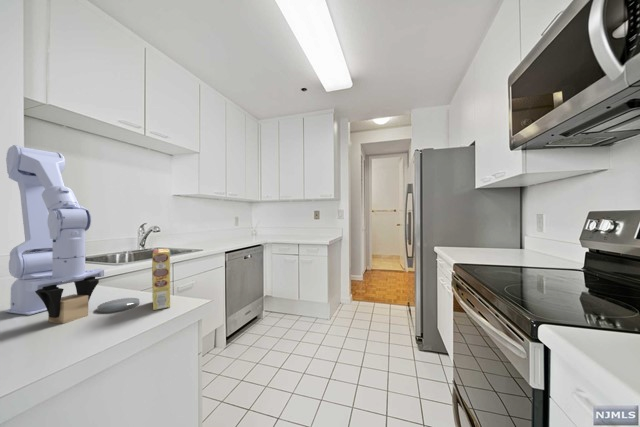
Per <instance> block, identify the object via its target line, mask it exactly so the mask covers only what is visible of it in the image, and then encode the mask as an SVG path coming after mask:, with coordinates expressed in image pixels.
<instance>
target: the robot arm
mask: <svg viewBox="0 0 640 427" xmlns="http://www.w3.org/2000/svg"><path fill="white" fill-rule="evenodd" d="M5 162H6V171H7V175H8V178H9V179H10V180H13V181H14V182H16V183H17V185H18V189H19V195H20V204H21V215H22V222H23V223H22V224H23V234H24V241H23V242H21V243H20V244H17V245H16V246H14V247H13V248H11V250H10V252H9V261H8V271H9V273H10V275H11V277H13V278H14V279H16V280H14V282H13V283H12V284H11V285H10V286H11V287H10V308H8V309H6V310H5V312H4V313H12V314H18V315H29V316H31V315H34V314H37V313H41V312H45V311H47V313H48V314H49V317H51V318H57V317H59V315H60V301H61V297H63V296H62V295H63V292H64V290H65V289H64V288H60V286H61V285H66V284H71V283H74V286H75V290H76V294H77V295H88V303H89V302H90V299H91V296H92V294H93V292H94V290H95V288H96V287H97V286H98V285H99V282H100V279H99V278H103V277H105V268H103V269H102V268H97V269H90V270H89V269H88V270H86V240H87V239H86V235H87V234H86V233H87V231H89V229H90V227H91V225H92V216H91V213H90V210H89V209H88V208H85V207H84V206H83V205H80V204H79V202H78V199H77V197H76V195H75V193H74V191H73V189H71V188H70V187H68V186H65V184H64V180H63V176H62V174H63V172H64V169H65V167H66V159H65V157H64V155H63V154H62V153H61V152H52V151H49V150H48V151H47V150H42V149H37V148H31V147H30V148H29V147H24V146H20V145H19V146H18V145H17V144H14V145H13V144H12V146H10V147H9V148H8V149H7V151H6V158H5Z"/></svg>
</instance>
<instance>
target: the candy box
mask: <svg viewBox="0 0 640 427" xmlns="http://www.w3.org/2000/svg"><path fill="white" fill-rule="evenodd" d="M170 254H171V253H170V249H169V248H159V249H153V250H152V258H151V259H152V265H151V267H152V268H151V270H152V272H151V274H152V278H151V281H152V284H151V285H152V310H153V311H157V310H161V309H167V308H171V257H170V256H171V255H170Z"/></svg>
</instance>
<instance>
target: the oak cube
mask: <svg viewBox="0 0 640 427" xmlns="http://www.w3.org/2000/svg"><path fill="white" fill-rule="evenodd" d="M47 316H48V322H49V323H55V324H63V325H64V324H67V323H70V322H73V321H76V320H79V319H82V318H85V317H88V316H89V302H88V295H77V293H76V294H75V293H73V294H69V295H66V296H61V301H60V315H59V317H57V318H51V317H49V314H48V315H47Z"/></svg>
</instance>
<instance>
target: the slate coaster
mask: <svg viewBox="0 0 640 427" xmlns="http://www.w3.org/2000/svg"><path fill="white" fill-rule="evenodd" d="M139 305H140V299H139V298H137V297H124V298H117V299H113V300H108V301H106V302H103V303H100V304H99V305H97V310H96V311H97V312H98V313H100V314H110V313H119V312H122V311H128V310H130V309H133V308H135V307H137V306H139Z"/></svg>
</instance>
